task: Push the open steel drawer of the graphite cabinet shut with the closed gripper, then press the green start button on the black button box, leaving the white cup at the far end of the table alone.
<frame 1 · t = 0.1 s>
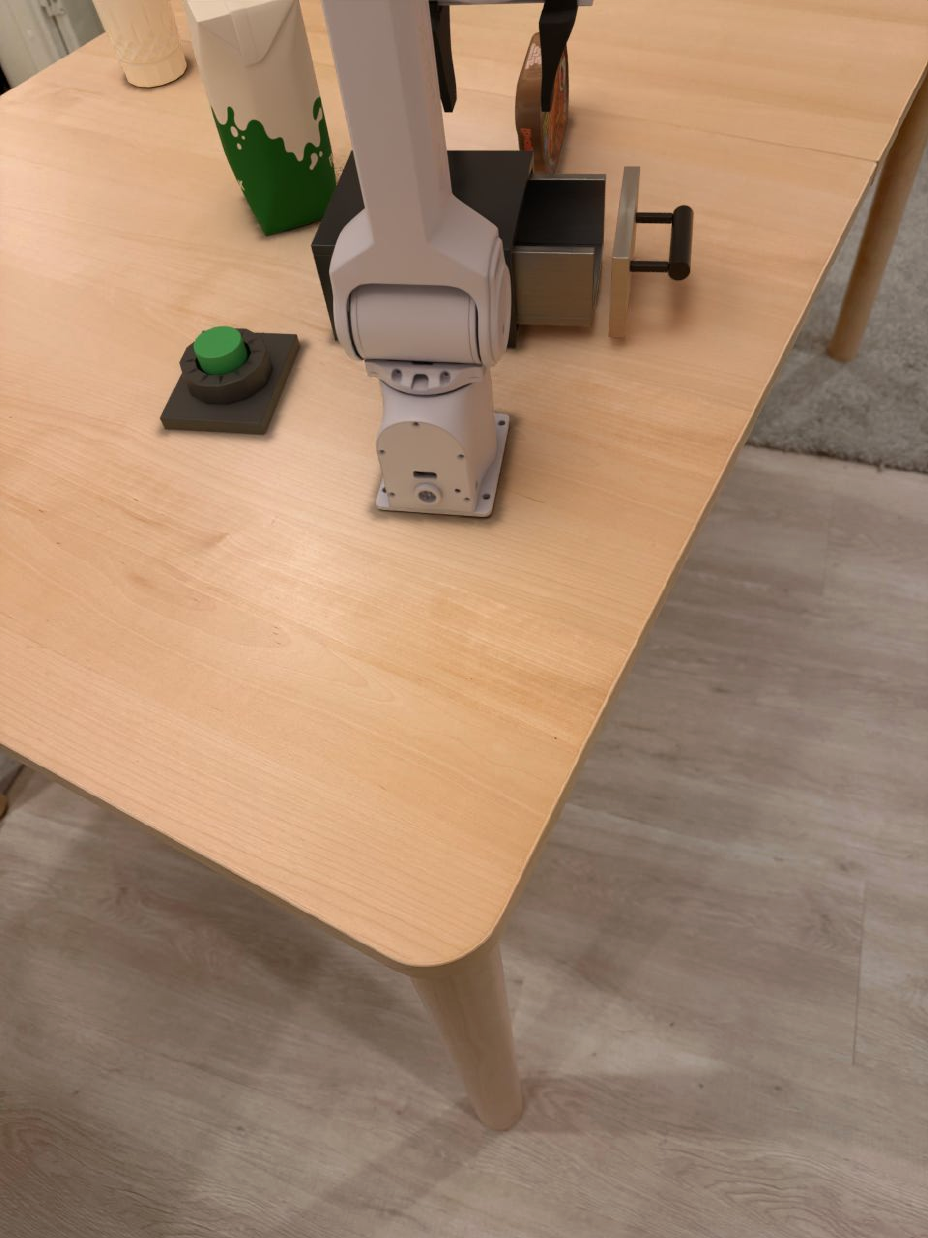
hand: (498, 105, 72), 10 cm above the table, tool pointing down, fingers open, 7 cm apart
start button: (220, 350, 69), point 3 cm above the table, slide at 0.1 cm
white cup: (157, 74, 103), on the table
milk carton: (293, 208, 86), on the table
cabinet: (438, 293, 76), on the table
tin: (544, 149, 87), on the table
drawer: (571, 250, 71), point 4 cm above the table, slide at 7.0 cm
button box: (234, 386, 72), on the table
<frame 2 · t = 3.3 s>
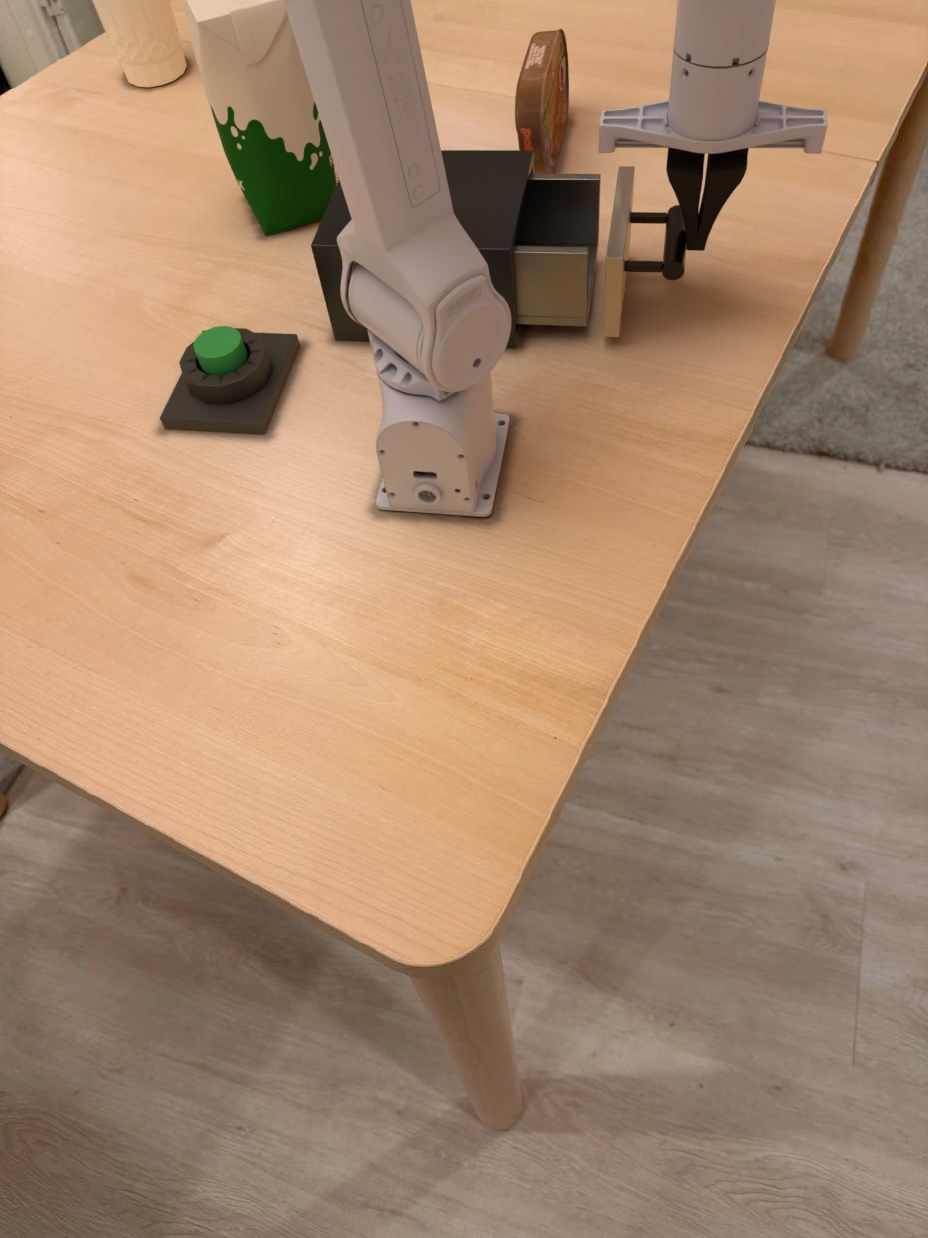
hand: (695, 242, 68), 5 cm above the table, tool pointing down, fingers closed
drawer: (566, 250, 71), point 4 cm above the table, slide at 6.6 cm, touching gripper
everything else where it was.
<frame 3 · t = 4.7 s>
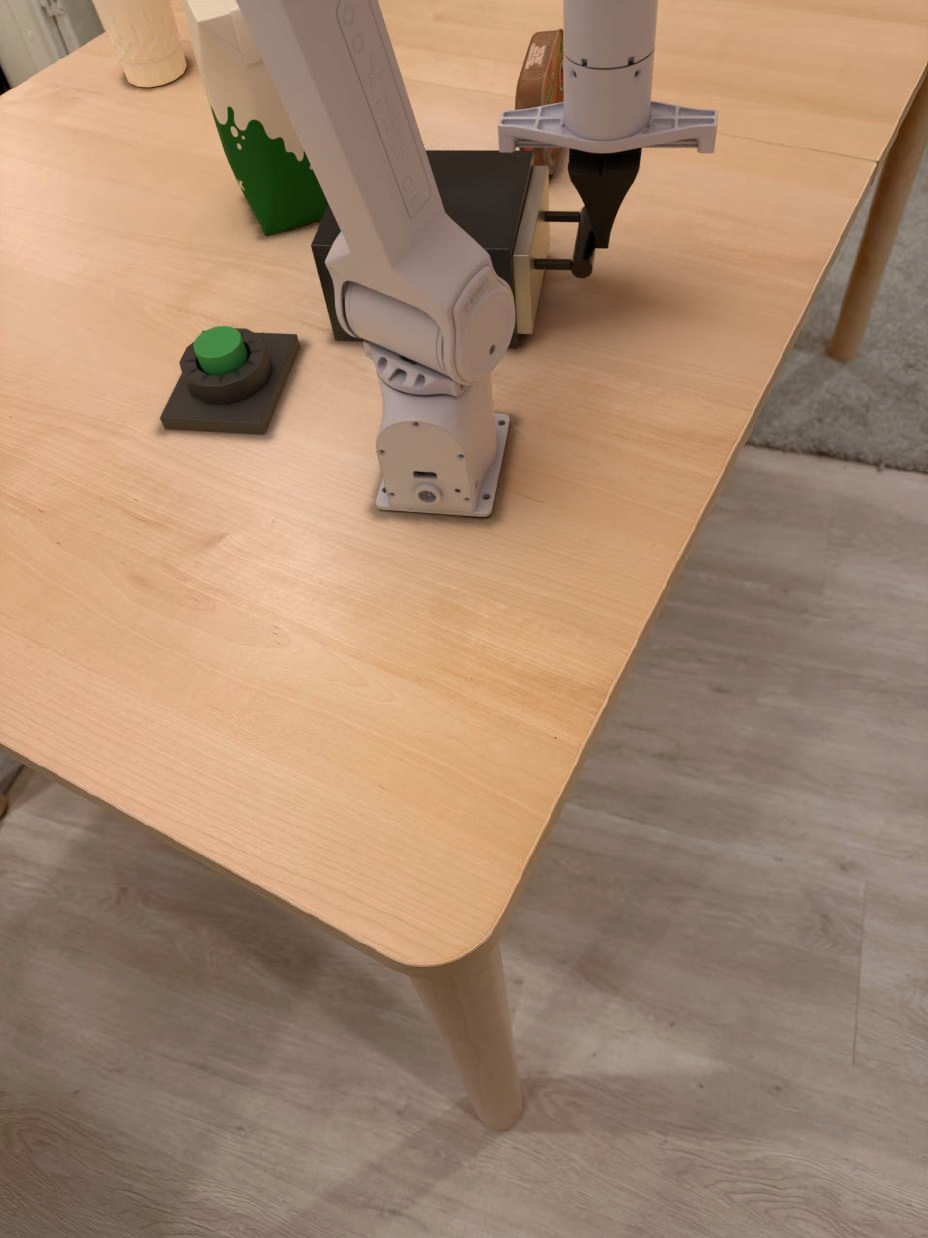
hand: (602, 240, 70), 5 cm above the table, tool pointing down, fingers closed, pressing on drawer
drawer: (481, 248, 72), point 4 cm above the table, slide at 0.0 cm, touching cabinet, gripper
everything else where it was.
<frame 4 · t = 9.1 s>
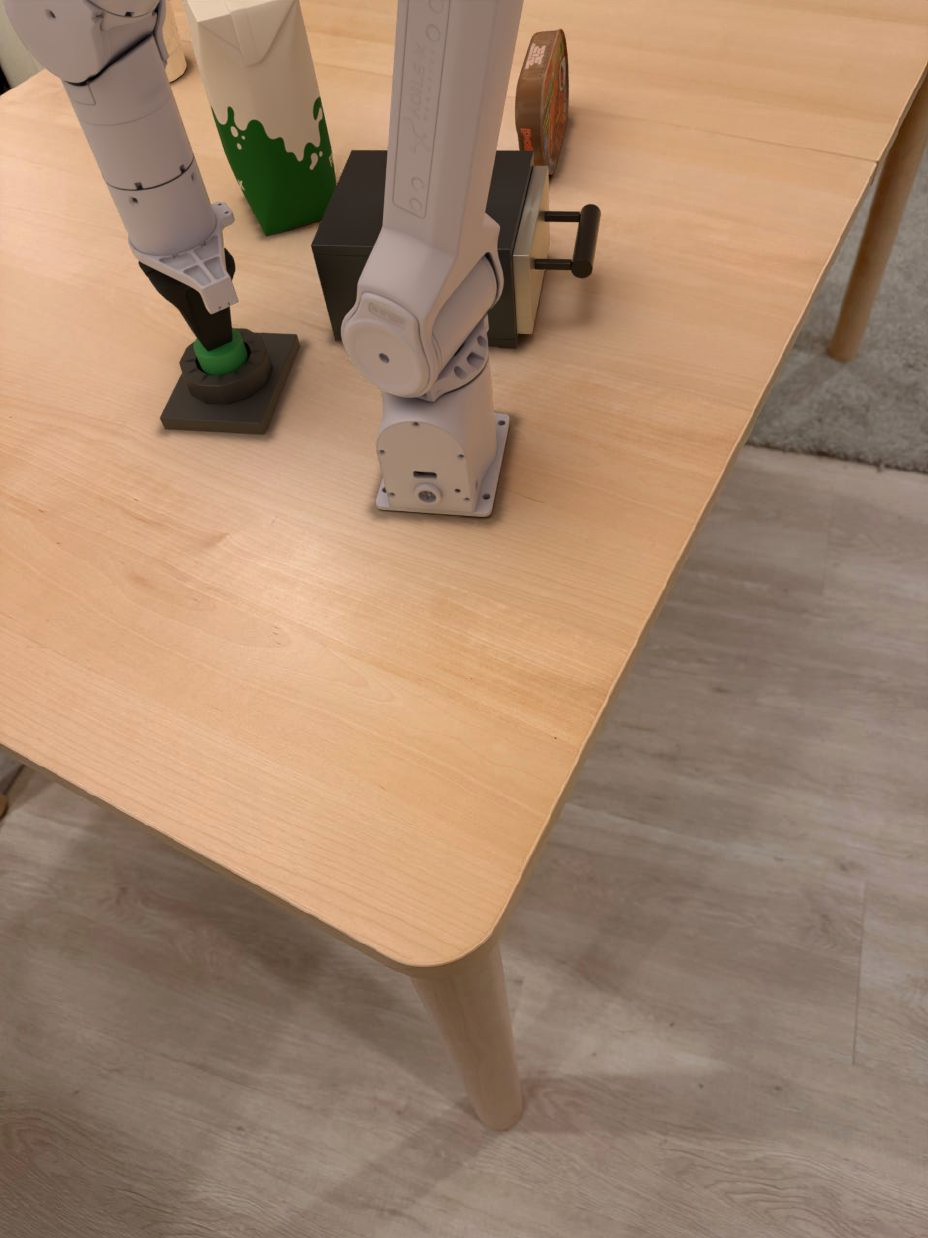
hand: (217, 341, 69), 4 cm above the table, tool pointing down, fingers closed, pressing on start button
start button: (220, 350, 69), point 3 cm above the table, slide at 0.1 cm, touching gripper
drawer: (481, 248, 72), point 4 cm above the table, slide at 0.0 cm
everything else where it was.
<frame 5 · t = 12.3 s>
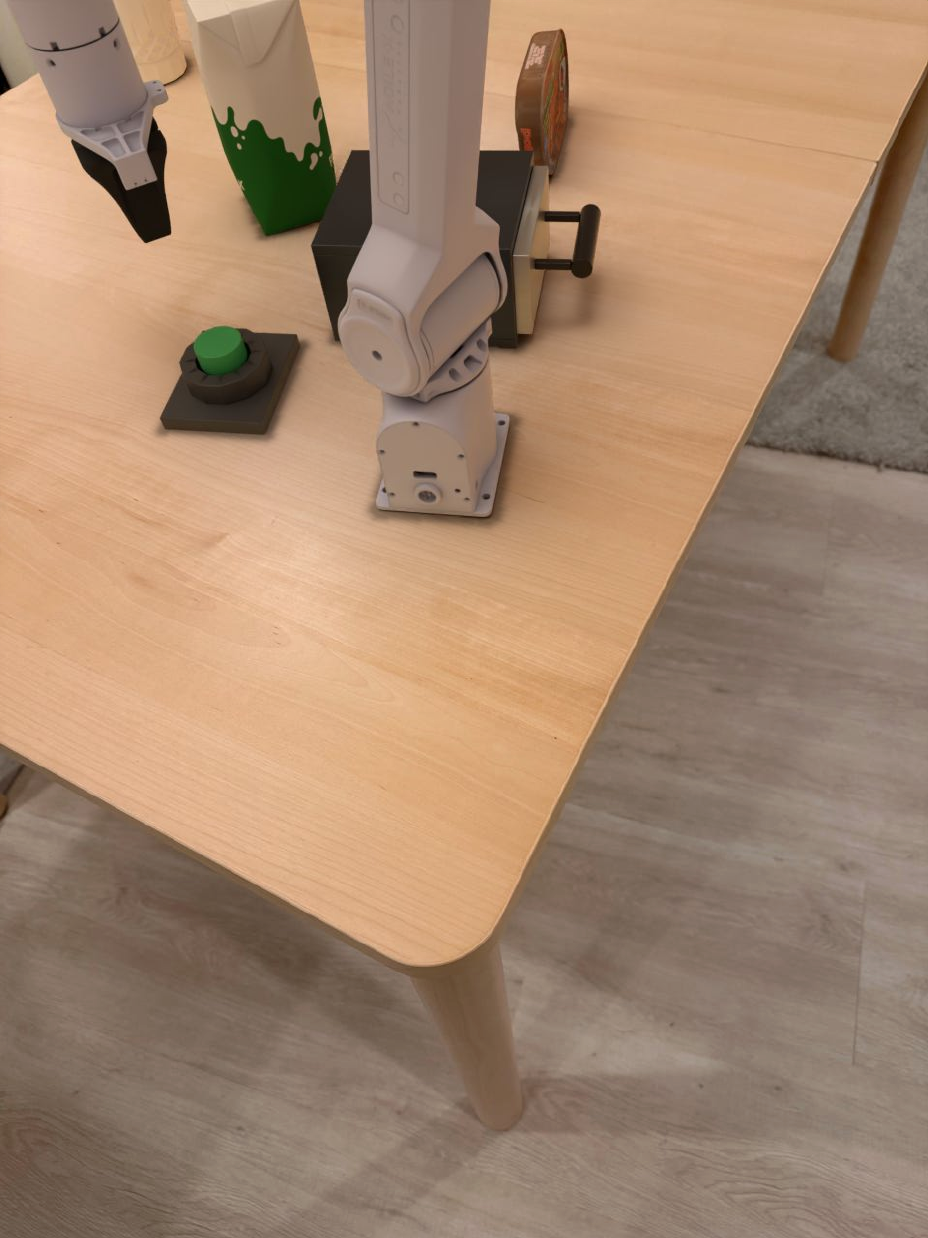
hand: (156, 234, 66), 10 cm above the table, tool pointing down, fingers closed
start button: (220, 350, 69), point 3 cm above the table, slide at 0.1 cm
everything else where it was.
at the end: drawer slide at 0.0 cm; start button pushed in 1.2 cm at the most during the clip, back to where it started at the end; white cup moved 0.2 cm from its start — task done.
